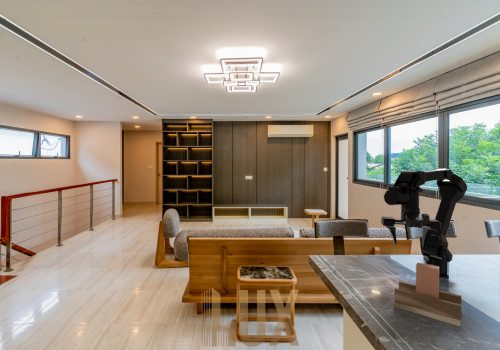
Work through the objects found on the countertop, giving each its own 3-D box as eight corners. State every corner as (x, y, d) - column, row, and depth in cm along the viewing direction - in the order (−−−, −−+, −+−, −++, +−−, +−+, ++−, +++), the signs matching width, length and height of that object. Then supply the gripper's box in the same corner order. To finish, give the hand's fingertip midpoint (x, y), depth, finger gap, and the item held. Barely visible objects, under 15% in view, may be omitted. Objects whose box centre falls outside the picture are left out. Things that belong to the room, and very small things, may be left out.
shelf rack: (399, 294, 88) (400, 279, 88) (461, 310, 78) (461, 294, 78) (393, 306, 80) (393, 290, 80) (460, 326, 70) (461, 308, 70)
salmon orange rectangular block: (416, 300, 82) (417, 262, 82) (438, 306, 78) (439, 266, 78) (415, 304, 80) (416, 265, 79) (437, 310, 76) (438, 269, 76)
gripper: (386, 205, 94) (385, 249, 94) (448, 208, 88) (447, 254, 89) (381, 202, 105) (380, 241, 105) (436, 204, 99) (435, 245, 99)
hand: (409, 245), depth 99 cm, fingers open, 9 cm apart
